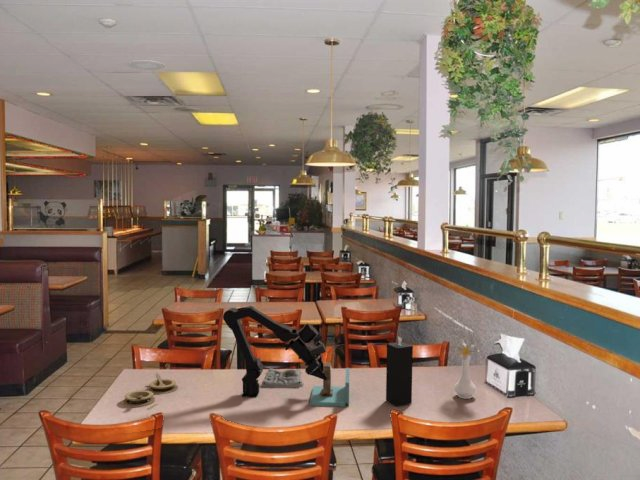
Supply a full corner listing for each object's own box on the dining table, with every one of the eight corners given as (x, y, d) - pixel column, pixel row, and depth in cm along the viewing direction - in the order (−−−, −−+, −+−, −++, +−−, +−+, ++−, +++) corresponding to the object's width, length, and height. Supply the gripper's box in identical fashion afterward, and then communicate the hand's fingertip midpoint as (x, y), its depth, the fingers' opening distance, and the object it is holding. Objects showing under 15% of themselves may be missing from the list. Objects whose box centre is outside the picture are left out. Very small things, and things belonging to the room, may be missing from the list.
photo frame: (320, 396, 234) (321, 366, 233) (321, 391, 240) (321, 362, 239) (332, 396, 234) (332, 366, 233) (332, 391, 240) (333, 362, 239)
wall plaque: (303, 389, 249) (303, 380, 248) (261, 388, 249) (261, 380, 249) (305, 372, 272) (305, 365, 272) (266, 372, 272) (266, 364, 272)
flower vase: (469, 388, 250) (470, 334, 248) (486, 403, 231) (488, 344, 230) (441, 389, 248) (443, 334, 246) (457, 404, 230) (458, 345, 228)
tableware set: (148, 411, 221) (148, 397, 221) (108, 405, 228) (108, 391, 227) (189, 388, 249) (189, 375, 249) (153, 383, 256) (152, 370, 255)
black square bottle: (396, 407, 226) (397, 340, 224) (385, 400, 233) (386, 336, 231) (411, 403, 230) (413, 338, 228) (400, 397, 237) (401, 334, 235)
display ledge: (310, 405, 227) (310, 381, 227) (313, 388, 247) (313, 367, 247) (348, 406, 226) (349, 382, 226) (349, 389, 246) (349, 368, 246)
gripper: (313, 343, 226) (339, 370, 226) (316, 332, 245) (341, 357, 245) (294, 361, 227) (320, 388, 227) (298, 349, 246) (323, 374, 246)
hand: (327, 376), depth 236 cm, fingers open, 9 cm apart
